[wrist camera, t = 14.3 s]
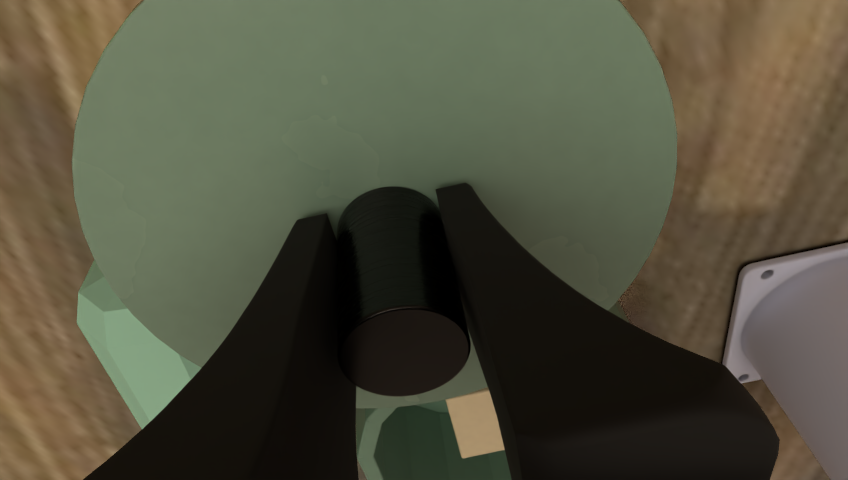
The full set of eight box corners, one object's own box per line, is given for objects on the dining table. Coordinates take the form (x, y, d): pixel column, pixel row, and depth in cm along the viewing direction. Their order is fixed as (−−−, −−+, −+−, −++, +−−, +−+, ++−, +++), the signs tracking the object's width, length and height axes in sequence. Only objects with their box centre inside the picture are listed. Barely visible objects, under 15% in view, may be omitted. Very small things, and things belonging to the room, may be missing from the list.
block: (527, 299, 25) (554, 377, 22) (534, 361, 28) (560, 438, 24) (431, 320, 25) (445, 400, 22) (447, 380, 28) (461, 459, 25)
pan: (612, 202, 23) (675, 305, 19) (610, 383, 30) (655, 488, 26) (322, 266, 23) (319, 382, 19) (387, 431, 30) (396, 542, 26)
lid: (676, -188, 10) (870, -155, 6) (644, 325, 17) (723, 472, 14) (-55, -17, 10) (-266, 110, 6) (228, 413, 18) (201, 578, 14)
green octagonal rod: (40, 355, 16) (268, 681, 32) (257, 271, 18) (372, 616, 34) (34, 240, 20) (237, 577, 36) (210, 182, 22) (331, 525, 38)
